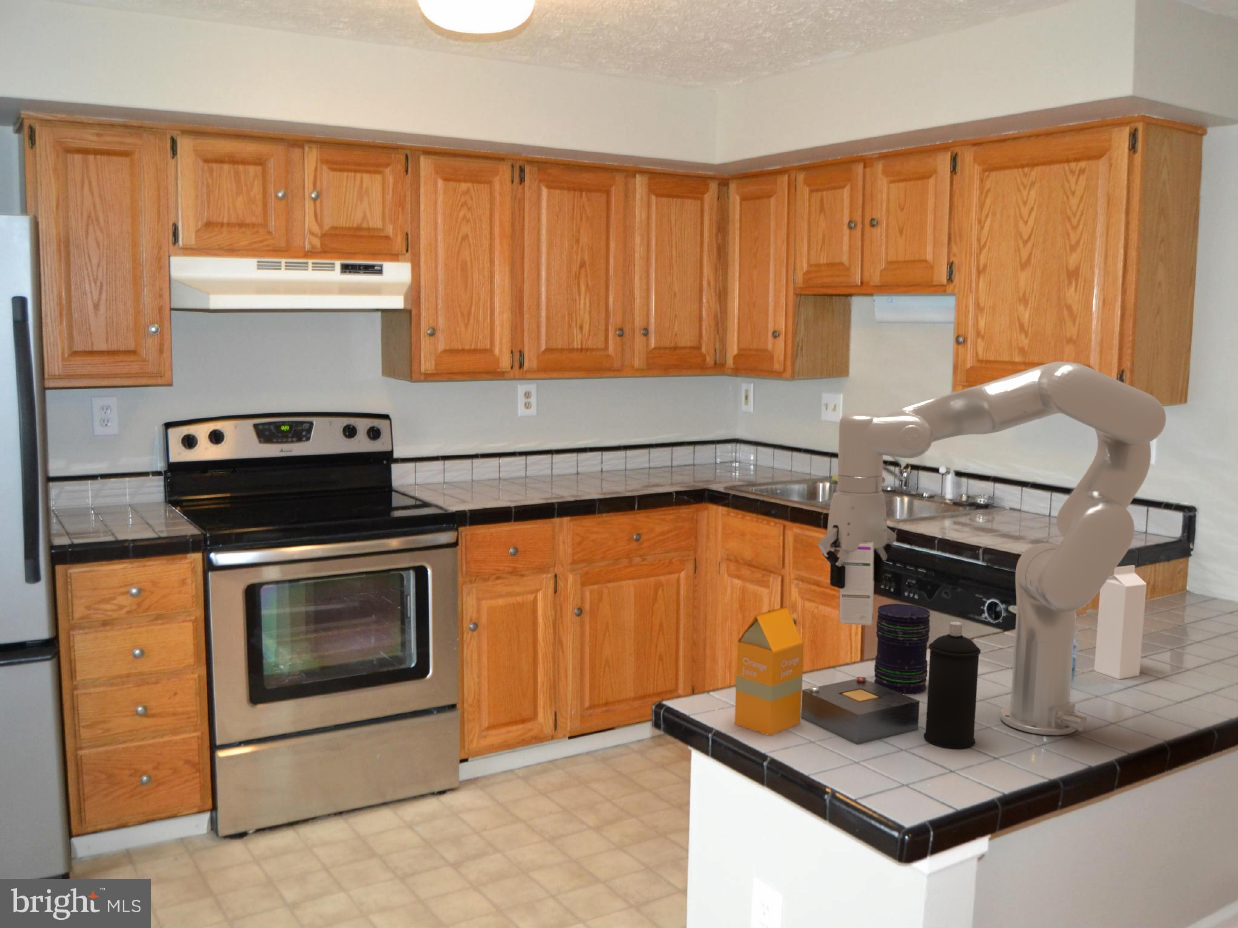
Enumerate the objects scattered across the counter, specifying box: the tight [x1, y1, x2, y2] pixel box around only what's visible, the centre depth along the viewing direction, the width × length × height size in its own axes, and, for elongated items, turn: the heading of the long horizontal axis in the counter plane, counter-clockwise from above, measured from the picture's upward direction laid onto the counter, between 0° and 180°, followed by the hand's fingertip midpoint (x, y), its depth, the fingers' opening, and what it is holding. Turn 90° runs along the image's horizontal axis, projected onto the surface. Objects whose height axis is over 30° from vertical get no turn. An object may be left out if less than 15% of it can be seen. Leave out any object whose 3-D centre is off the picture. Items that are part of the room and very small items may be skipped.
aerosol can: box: [923, 621, 981, 750], centre depth 179 cm, size 8×8×20 cm
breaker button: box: [842, 689, 879, 703], centre depth 187 cm, size 4×4×3 cm
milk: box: [1093, 564, 1147, 680], centre depth 216 cm, size 6×6×22 cm
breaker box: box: [800, 676, 921, 745], centre depth 187 cm, size 14×14×6 cm
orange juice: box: [734, 606, 805, 737], centre depth 185 cm, size 8×9×20 cm
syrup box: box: [838, 542, 875, 626], centre depth 189 cm, size 6×6×14 cm
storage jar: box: [873, 603, 931, 695], centre depth 206 cm, size 10×10×15 cm
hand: (856, 583), depth 189 cm, fingers closed on syrup box, 8 cm apart
